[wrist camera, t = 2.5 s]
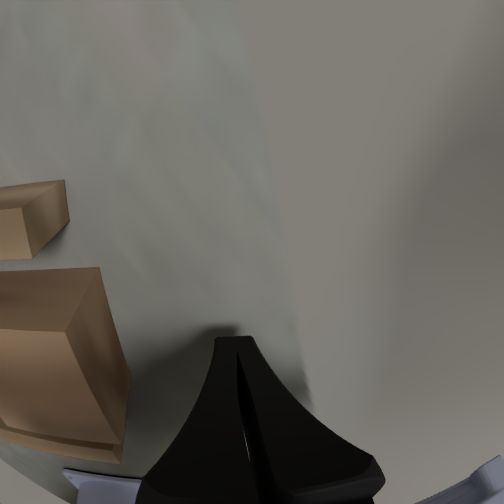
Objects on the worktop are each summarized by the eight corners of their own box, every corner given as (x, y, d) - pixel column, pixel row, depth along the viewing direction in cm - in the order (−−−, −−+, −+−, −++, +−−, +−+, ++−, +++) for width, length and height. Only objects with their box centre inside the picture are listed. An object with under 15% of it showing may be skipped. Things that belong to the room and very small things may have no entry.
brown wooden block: (132, 375, 14) (120, 444, 10) (31, 369, 13) (7, 426, 9) (100, 264, 11) (64, 332, 8) (-12, 270, 10) (-59, 322, 7)
